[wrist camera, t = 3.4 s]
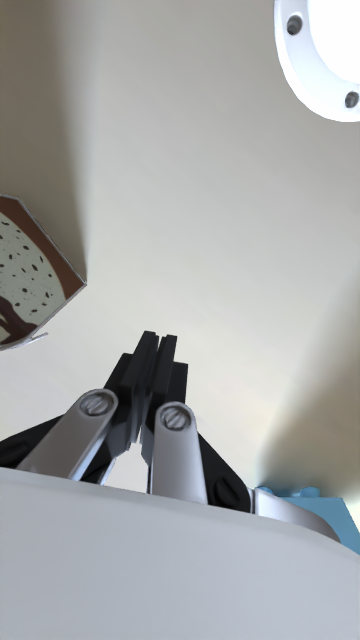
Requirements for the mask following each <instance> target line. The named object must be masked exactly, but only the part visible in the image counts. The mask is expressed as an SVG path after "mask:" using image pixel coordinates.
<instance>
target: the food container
mask: <svg viewBox="0 0 360 640" xmlns="http://www.w3.org/2000/svg"><path fill="white" fill-rule="evenodd" d="M86 286H87V284H86V283H85V282H84V280H83V279H82V278H81V277H80V275H79V274H78V273H77V271H76V270H75V269H74V268H73V266H72V265H71V264H70V263H69V261H68V260H67V259H66V257H65V256H64V255H63V254H62V252H61V251H60V250H59V249H58V247H57V246H56V245H55V243H54V242H53V241H52V240H51V238H50V237H49V236H48V234H47V233H46V232H45V231H44V229H43V228H42V227H41V226H40V224H39V223H38V222H37V220H36V219H35V218H34V217H33V215H32V214H31V213H30V212H29V210H28V209H27V208H26V206H25V205H24V204H23V203H22V201H21V200H20V199H19V198H18V197H16V196H12V195H7V194H2V193H0V351H3V350H7V349H12V348H16V347H20V346H23V345H26V344H28V343H30V342H33V341H35V340H37V339H39V338H41V337H44V336H46V335H48V333H44V334H42V335H39V336H37V337H34V338H32V336H33V335H34V334H35V333H36V332H37V331H38V330H39V329H40V328H41V327H42V326H44V325H45V324H46V323H47V322H48V321H49V320H50V319H51V318H52V317H53V316H54V315H55V314H56V313H58V312H59V311H60V310H61V309H62V308H63V307H64V306H65V305H66V304H67V303H68V302H69V301H70V300H72V299H73V298H74V297H75V296H76V295H77V294H78V293H79V292H80V291H81V290H82V289H83V288H84V287H86Z"/></svg>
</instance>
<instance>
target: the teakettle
mask: <svg viewBox="0 0 360 640" xmlns="http://www.w3.org/2000/svg"><path fill="white" fill-rule="evenodd" d="M258 489H261V490H263V491H265V492H267V493H270V494H272V495H273V492H272V490H271V489H270V488H267V487H258ZM300 496H301V497H279V498H281V499H283V500H286V501H288V502H290V503H293V504H295V505H297V506H299V507H302V508H304V509H306V510H309V511H311V512H313V513H315V514H317V515H318V516H320V517H322V518H323V519H324V520H325V521H326V522H327V523H328V524H329V525H330V526H331V527H332V528H333V530H334V531H335V533H336V534H337V536H338V537H339V539H340V542H341V544H342V545H344V546H345V547H347V548H349V549H351V550H352V551H354V552H355V553H357V554H358V555H360V533H359V531H358V529H357V527H356V525H355V523H354V521H353V519H352V517H351V515H350V513H349V511H348V509H347V507H346V505H345V503H344V501H343V499H342V498H325V497H320V490H319V489H318V488H316V487H305V488H303V489H302V490H301V491H300Z"/></svg>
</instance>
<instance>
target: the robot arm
mask: <svg viewBox="0 0 360 640" xmlns="http://www.w3.org/2000/svg"><path fill="white" fill-rule="evenodd" d="M274 20H275V39H276V44H277V49H278V55H279V60H280V63H281V66H282V68H283V71H284V74H285V76H286V79H287V81H288V83H289V85H290V86H291V88H292V89H293V91H294V92H295V94H296V95H297V97H298V98H299V99H300V100H301V101H302V102H303V103H304V104H305V105H306V106H307V107H308V108H310V109H311V110H312V111H314V112H316V113H318V114H320V115H322V116H324V117H325V118H329V119H334V120H338V121H343V122H344V121H360V0H275V5H274ZM289 30H291V31H292V32H293V35H290V34H289V33H288V31H289ZM345 101H346V102H347V107H346V106H345V103H344V102H345ZM176 342H177V336H174V335H168V334H167V336H166V337H163V336H162V339H161V342H160V345H159V348H158V343H159V336H157V335H156V332H151V331H144V333H143V335H142V337H141V339H140V341H139V343H138V345H137V347H136V349H135V351H134V353H133V354H128V353H123V354H122V356H121V358H120V360H119V361H118V363H117V365H116V367H115V368H114V370H113V372H112V374H111V375H110V377H109V379H108V381H107V382H106V384H105V386H104V388H103V389H94V390H90V391H88V392H86V393H84V394H83V395H82V396H81V397H80V398H79V399H78V400H77V401H76V402H75V403H74V404H73V405H72V406H71V408H70V409H69V410H68V411H67V412H66V413H65V414H63V415H61V416H58V417H56V418H54V419H51V420H49V421H46V422H44V423H42V424H39V425H37V426H34V427H32V428H30V429H27V430H25V431H22V432H20V433H18V434H15V435H13V436H10V437H8V438H6V439H4V440H2V441H1V442H0V640H360V555H358V554H357V553H355V552H354V551H352V550H351V549H349V548H347V547H345V546H344V545H342V544H341V542H340V539H339V537H338V536H337V534H336V533H335V531H334V530H333V528H332V527H331V526H330V525H329V524H328V523H327V522H326V521H325V520H324V519H323V518H322V517H320V516H318V515H317V514H315V513H313V512H311V511H309V510H306V509H304V508H302V507H299V506H297V505H295V504H293V503H290V502H288V501H286V500H283V499H281V498H279V497H277V496H274V495H272V494H270V493H267V492H265V491H263V490H261V489H258V488H256V487H255V489H254V490H252V489H250V488H248V487H246V485H245V484H244V483H243V481H242V480H241V479H240V477H239V476H238V475H237V474H236V473H235V472H234V471H233V470H232V469H231V468H230V467H229V465H228V464H227V463H226V462H225V461H224V460H223V459H222V458H221V457H220V456H219V454H218V453H217V452H216V451H215V450H214V449H213V448H212V447H211V446H210V445H209V444H208V442H207V441H206V440H205V439H204V438H203V437H202V436H201V435H200V434H199V433H198V431H197V426H196V419H195V416H194V413H193V411H192V410H191V409H190V408H189V407H188V406H187V405H185V397H186V385H187V373H188V364H185V363H180V362H174V361H173V360H174V354H175V348H176ZM140 427H141V434H140V444H142V451H141V455H142V457H143V459H144V460H145V462H146V463H147V465H148V473H147V488H146V493H141V492H136V491H130V490H125V489H119V488H114V487H109V486H104V484H105V482H106V480H107V478H108V476H109V474H110V472H111V470H112V468H113V466H114V464H115V461H116V457H118V456H119V455H121V454H122V453H124V452H125V450H126V451H129V448H130V445H131V443H136V441H137V438H138V434H139V431H140Z"/></svg>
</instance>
